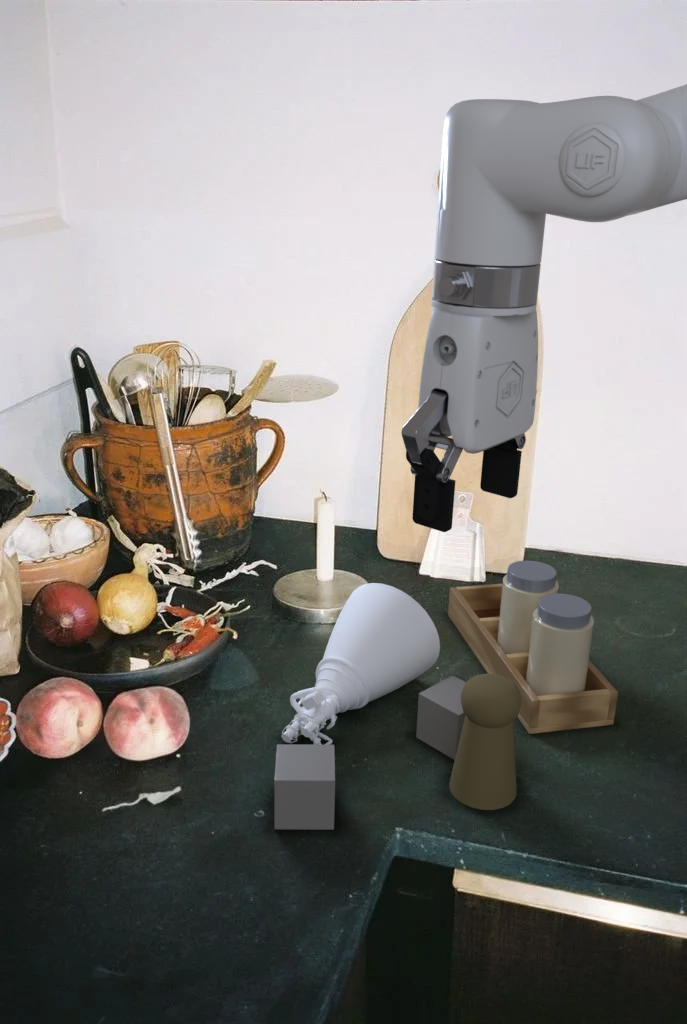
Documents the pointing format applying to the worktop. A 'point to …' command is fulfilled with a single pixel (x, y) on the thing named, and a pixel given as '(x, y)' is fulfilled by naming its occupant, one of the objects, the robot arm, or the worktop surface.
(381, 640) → the rocket engine
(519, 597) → the cream shaker
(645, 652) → the worktop surface
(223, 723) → the worktop surface
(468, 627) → the spice rack
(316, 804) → the grey block
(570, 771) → the worktop surface
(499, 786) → the olive pepper mill
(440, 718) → the grey block
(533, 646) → the cream shaker
